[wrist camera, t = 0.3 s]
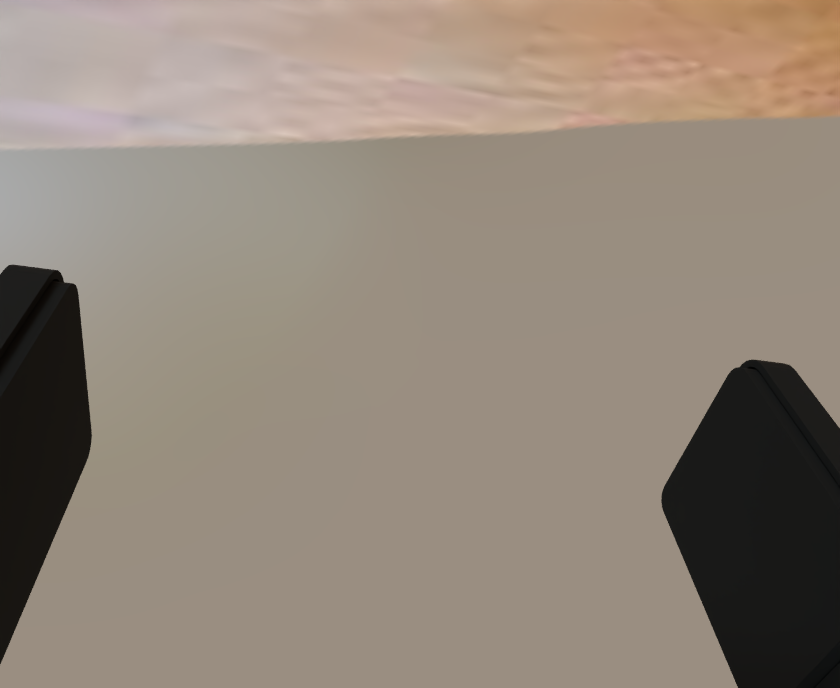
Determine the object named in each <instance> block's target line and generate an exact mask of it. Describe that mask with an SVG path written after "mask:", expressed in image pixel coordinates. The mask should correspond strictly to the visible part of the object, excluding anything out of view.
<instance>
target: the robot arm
mask: <svg viewBox="0 0 840 688" xmlns="http://www.w3.org/2000/svg"><path fill="white" fill-rule="evenodd" d="M91 437H92V434H91V422H90V412H89V402H88V390H87V380H86V370H85V359H84V350H83V339H82V328H81V317H80V307H79V297H78V291H77V287H76V285H75V284H72V283H64V281H63V277H62V275H61V273H60V272H59V271H58V270H51V269H42V268H35V267H27V266H19V265H9V266H8V267H6V268H5V270H3V272H2V273H1V274H0V664H1V661H2V659H3V657H4V654H5V652H6V650H7V647H8V645H9V643H10V640H11V638H12V635H13V633H14V631H15V628H16V626H17V624H18V621H19V618H20V616H21V614H22V612H23V610H24V607H25V605H26V603H27V600H28V598H29V595H30V593H31V591H32V588H33V586H34V584H35V581H36V579H37V577H38V574H39V572H40V569H41V567H42V565H43V563H44V560H45V558H46V555H47V553H48V551H49V548H50V546H51V544H52V541H53V539H54V537H55V534H56V532H57V530H58V527H59V525H60V523H61V520H62V518H63V515H64V513H65V511H66V508H67V506H68V504H69V501H70V499H71V497H72V494H73V492H74V490H75V487H76V485H77V482H78V480H79V478H80V475H81V473H82V471H83V468H84V466H85V464H86V461H87V459H88V456H89V452H90V447H91ZM662 508H663V511H664V514H665V516H666V518H667V521H668V523H669V526H670V528H671V530H672V533H673V535H674V537H675V540H676V542H677V545H678V547H679V549H680V552H681V554H682V556H683V559H684V561H685V563H686V566H687V568H688V570H689V573H690V575H691V578H692V580H693V582H694V585H695V587H696V589H697V592H698V594H699V596H700V599H701V601H702V604H703V606H704V608H705V611H706V613H707V615H708V618H709V620H710V622H711V625H712V627H713V630H714V632H715V634H716V637H717V639H718V641H719V644H720V646H721V648H722V651H723V653H724V656H725V658H726V660H727V662H728V665H729V667H730V670H731V672H732V674H733V677H734V679H735V682H736V684H737V686H738V688H840V428H839V427H838V426H837V424H836V423H835V422H834V421H833V419H832V418H831V417H830V415H829V414H828V413H827V411H826V410H825V409H824V407H823V406H822V405H821V404H820V402H819V401H818V399H817V398H816V397H815V396H814V394H813V393H812V392H811V390H810V389H809V388H808V386H807V385H806V384H805V383H804V381H803V380H802V379H801V377H800V376H799V375H798V373H797V372H796V371H795V370H794V369H793V368H792V367H791V366H790V365H787V364H783V363H775V362H768V361H760V360H749V361H746V362H745V363H743V364H742V365H741V366H740V367H739V368H735V369H733V370H732V371H731V372H730V373H729V374H728V376H727V378H726V380H725V381H724V383H723V385H722V387H721V388H720V390H719V392H718V394H717V395H716V397H715V399H714V400H713V402H712V404H711V406H710V407H709V409H708V411H707V413H706V414H705V416H704V418H703V420H702V421H701V423H700V425H699V427H698V429H697V430H696V432H695V434H694V435H693V437H692V439H691V441H690V442H689V444H688V446H687V448H686V449H685V451H684V453H683V455H682V456H681V458H680V460H679V462H678V463H677V465H676V467H675V469H674V471H673V472H672V474H671V476H670V477H669V479H668V481H667V483H666V484H665V486H664V489H663V492H662Z"/></svg>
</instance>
